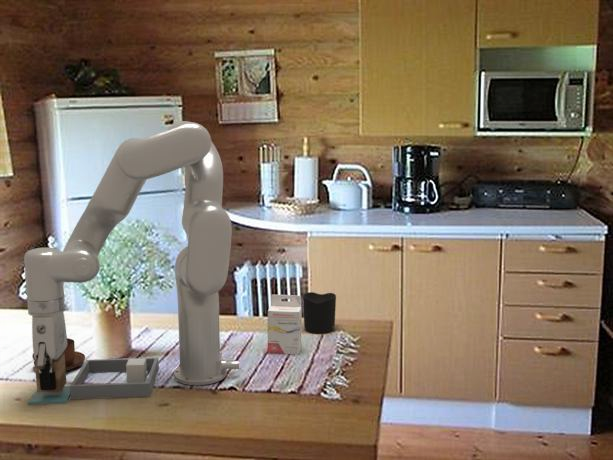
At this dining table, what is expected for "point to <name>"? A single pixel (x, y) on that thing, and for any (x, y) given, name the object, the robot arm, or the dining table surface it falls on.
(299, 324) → the ink cartridge box
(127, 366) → the pale grey block
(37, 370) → the walnut block
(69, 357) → the cup and saucer
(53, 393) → the pad
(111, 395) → the grey square frame
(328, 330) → the pen holder
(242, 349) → the dining table surface
